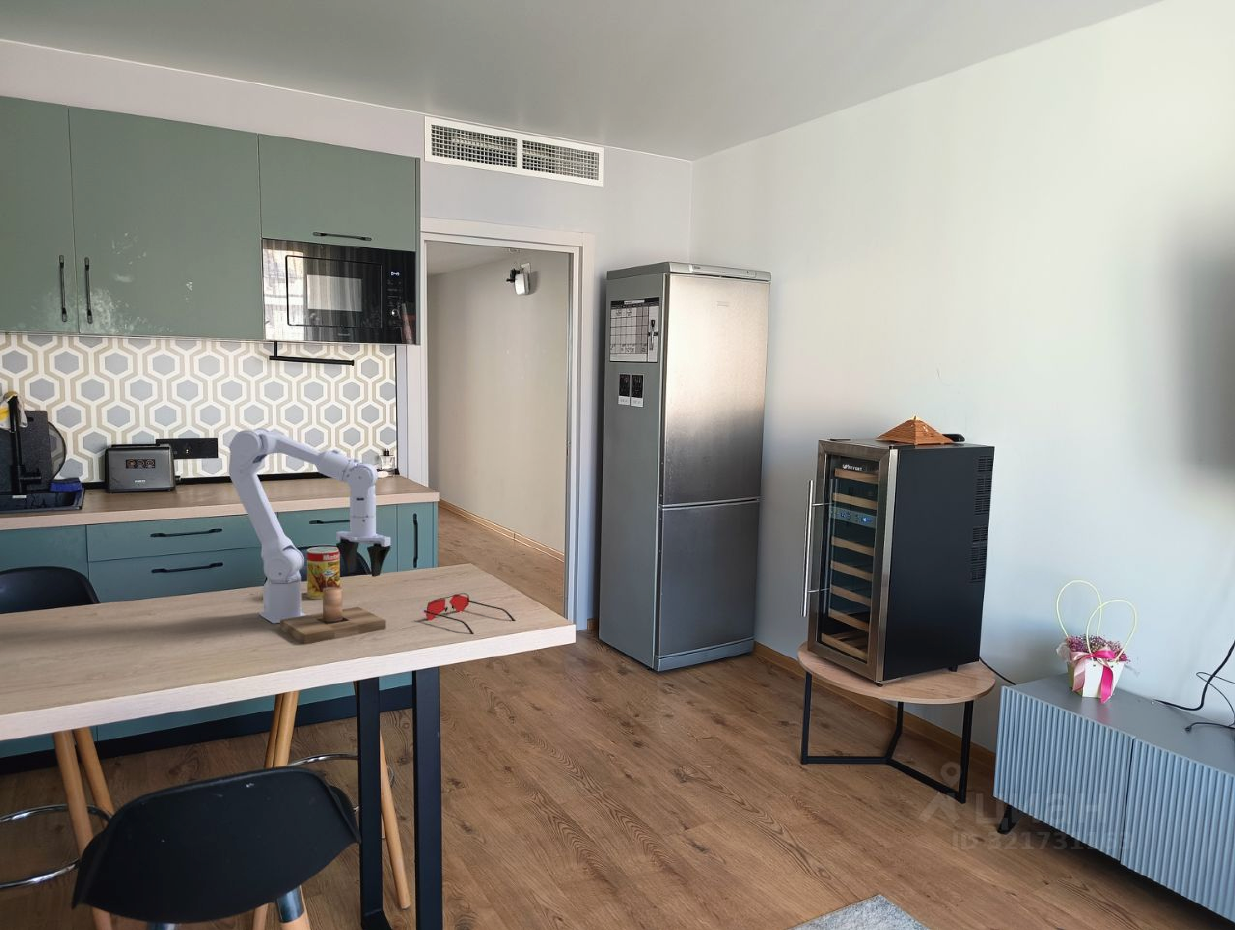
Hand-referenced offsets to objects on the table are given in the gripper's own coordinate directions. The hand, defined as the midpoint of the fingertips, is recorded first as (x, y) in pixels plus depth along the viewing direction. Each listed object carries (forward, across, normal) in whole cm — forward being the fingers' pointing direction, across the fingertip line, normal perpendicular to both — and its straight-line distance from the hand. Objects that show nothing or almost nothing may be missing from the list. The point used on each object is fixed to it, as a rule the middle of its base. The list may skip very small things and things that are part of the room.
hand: (363, 573), depth 189 cm
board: (+10, 0, -10) cm, 14 cm away
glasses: (+11, +22, +11) cm, 27 cm away
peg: (+10, 0, -10) cm, 14 cm away
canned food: (+11, -23, +10) cm, 27 cm away
